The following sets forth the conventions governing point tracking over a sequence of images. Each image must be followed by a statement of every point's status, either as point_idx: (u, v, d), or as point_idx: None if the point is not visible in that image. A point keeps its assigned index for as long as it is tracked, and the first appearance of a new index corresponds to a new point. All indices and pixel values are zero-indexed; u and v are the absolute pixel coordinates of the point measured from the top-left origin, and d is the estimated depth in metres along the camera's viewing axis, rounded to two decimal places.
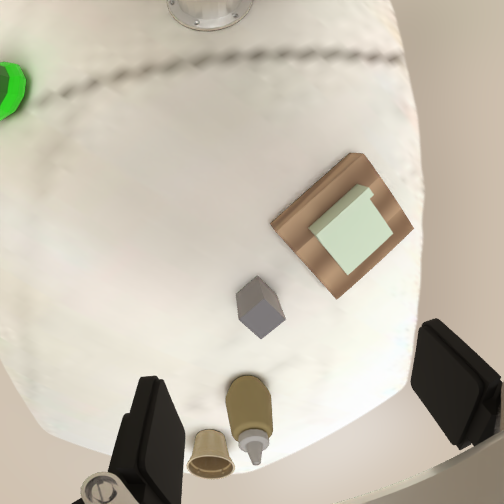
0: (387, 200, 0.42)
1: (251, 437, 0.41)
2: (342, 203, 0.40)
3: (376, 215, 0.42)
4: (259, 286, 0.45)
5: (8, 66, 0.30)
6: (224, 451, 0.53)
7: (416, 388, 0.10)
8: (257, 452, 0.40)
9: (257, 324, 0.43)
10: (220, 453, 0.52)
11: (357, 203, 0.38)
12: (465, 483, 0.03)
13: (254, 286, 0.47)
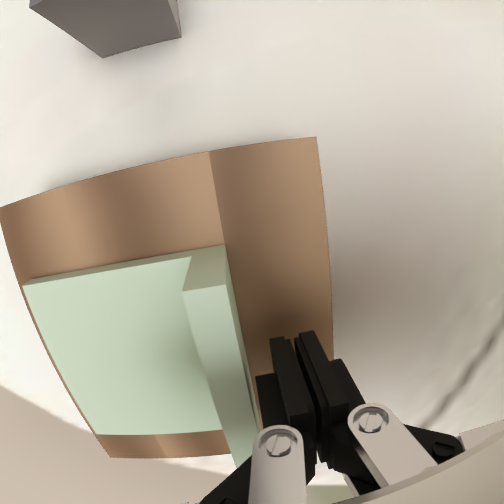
0: (203, 444, 0.16)
1: None
2: (250, 385, 0.12)
3: (158, 427, 0.14)
4: (170, 5, 0.10)
5: None
6: None
7: None
8: None
9: None
10: None
11: (244, 442, 0.10)
12: (464, 483, 0.03)
13: (172, 3, 0.11)
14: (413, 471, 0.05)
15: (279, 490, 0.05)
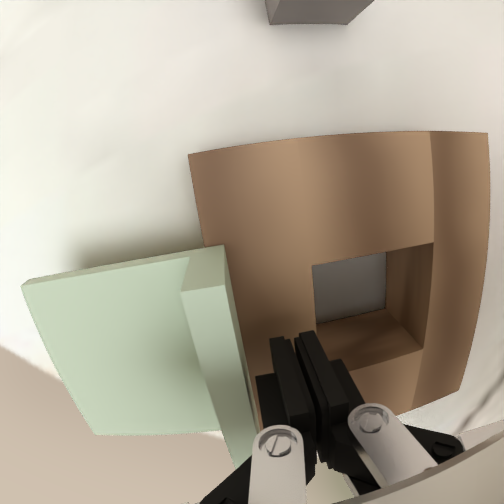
0: None
1: None
2: (249, 386, 0.12)
3: (156, 427, 0.14)
4: None
5: None
6: None
7: None
8: None
9: None
10: None
11: (243, 443, 0.10)
12: (464, 483, 0.03)
13: None
14: (413, 471, 0.05)
15: (279, 490, 0.05)
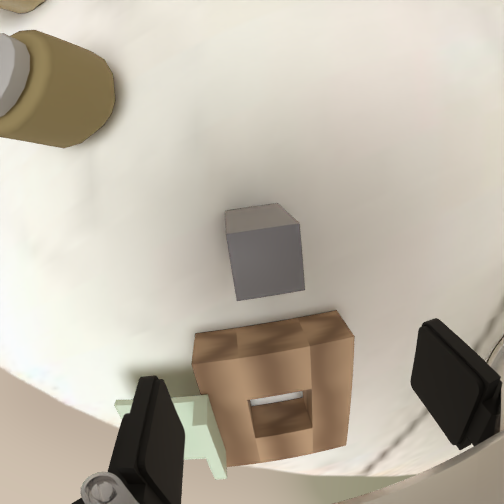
0: (282, 453, 0.30)
1: (8, 80, 0.10)
2: (219, 444, 0.26)
3: None
4: None
5: None
6: None
7: (416, 388, 0.10)
8: None
9: (264, 248, 0.20)
10: None
11: (216, 466, 0.25)
12: (465, 483, 0.03)
13: None
14: None
15: None
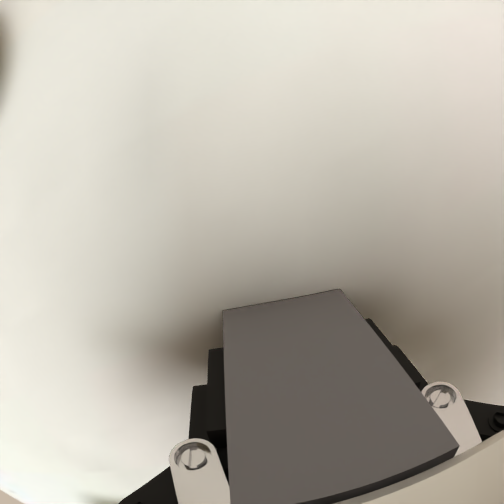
0: None
1: None
2: None
3: None
4: None
5: None
6: None
7: None
8: None
9: None
10: None
11: None
12: (464, 483, 0.03)
13: None
14: (463, 449, 0.05)
15: (207, 500, 0.05)
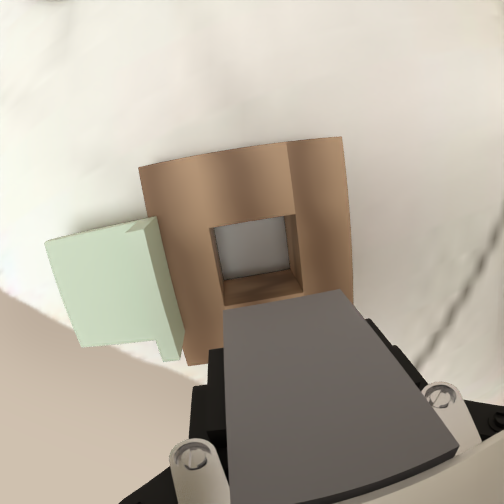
0: None
1: None
2: (170, 299, 0.21)
3: (120, 337, 0.23)
4: None
5: None
6: None
7: None
8: None
9: None
10: None
11: (162, 330, 0.19)
12: (465, 483, 0.03)
13: None
14: (463, 449, 0.05)
15: (207, 500, 0.05)
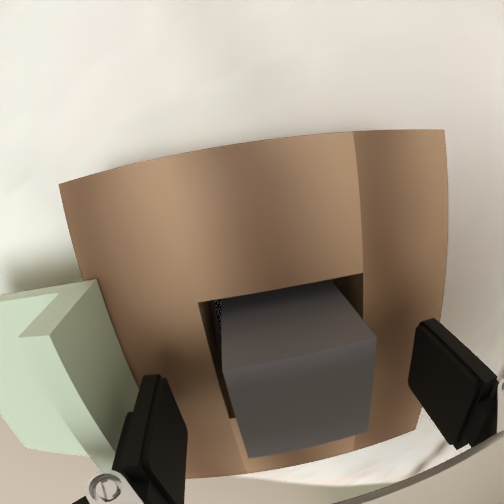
0: (292, 454, 0.14)
1: None
2: None
3: (72, 448, 0.12)
4: None
5: None
6: None
7: (413, 388, 0.10)
8: None
9: (302, 387, 0.09)
10: None
11: None
12: (465, 483, 0.03)
13: None
14: None
15: None
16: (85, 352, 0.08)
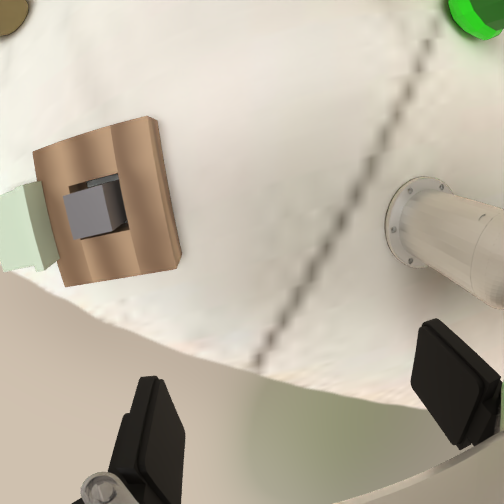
0: (109, 269, 0.32)
1: None
2: (43, 231, 0.28)
3: (23, 262, 0.30)
4: (124, 220, 0.32)
5: (492, 32, 0.26)
6: None
7: (416, 388, 0.10)
8: None
9: (83, 203, 0.27)
10: None
11: (33, 248, 0.27)
12: (464, 483, 0.03)
13: None
14: None
15: None
16: (32, 196, 0.27)
